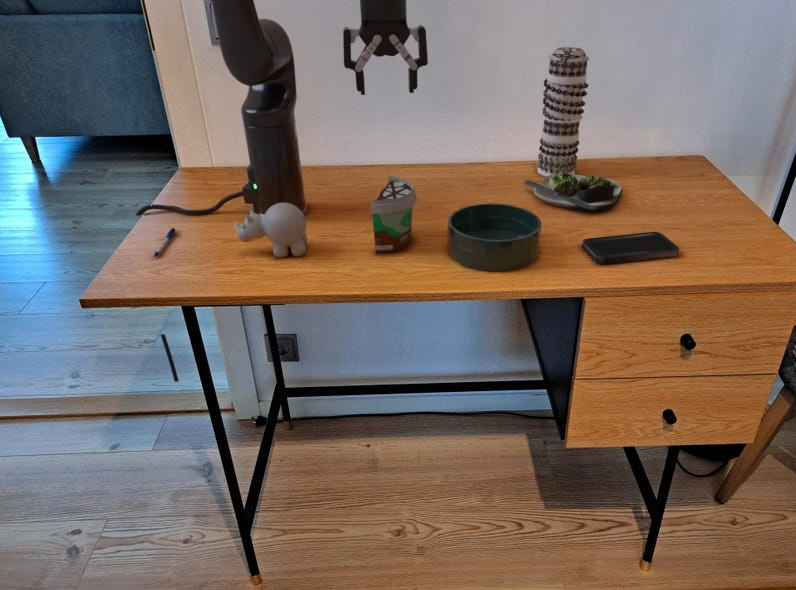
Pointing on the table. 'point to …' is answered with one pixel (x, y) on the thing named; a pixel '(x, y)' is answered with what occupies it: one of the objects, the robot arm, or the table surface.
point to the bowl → (493, 237)
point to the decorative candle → (562, 111)
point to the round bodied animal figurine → (277, 229)
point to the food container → (393, 216)
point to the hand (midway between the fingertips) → (387, 93)
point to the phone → (629, 247)
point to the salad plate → (577, 192)
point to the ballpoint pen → (165, 241)
